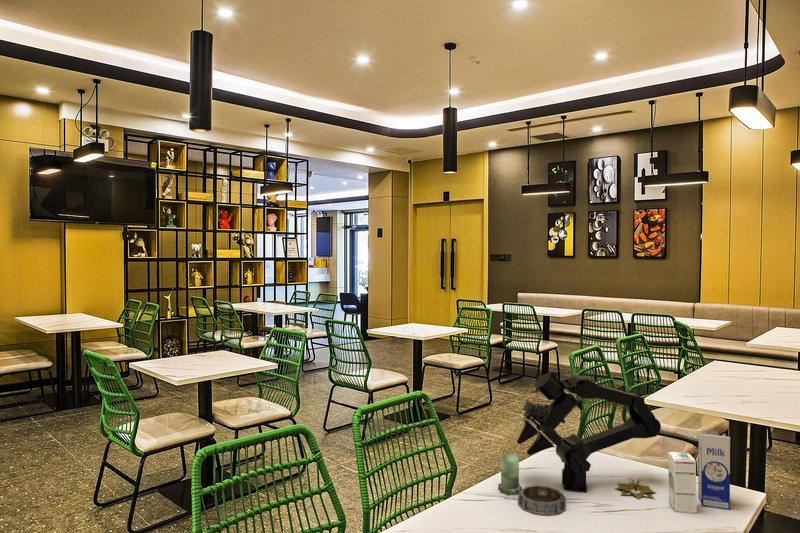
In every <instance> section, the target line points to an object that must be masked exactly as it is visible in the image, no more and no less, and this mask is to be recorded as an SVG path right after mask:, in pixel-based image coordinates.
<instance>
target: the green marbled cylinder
mask: <svg viewBox="0 0 800 533" xmlns="http://www.w3.org/2000/svg"><path fill="white" fill-rule="evenodd" d="M519 458H520V457H519V456H518V455H517V454H513V453H504V454H502V455H500V483H498V487H497V488H498V490H499V492H500V493H501V494H505V495H507V496H514V495H515V496H519V491H521V489H523V486H521V484H520V468H519V467H520V462H519V461H520V459H519Z"/></svg>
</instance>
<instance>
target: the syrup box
mask: <svg viewBox="0 0 800 533" xmlns="http://www.w3.org/2000/svg"><path fill="white" fill-rule="evenodd" d="M667 460H668V502H669V504H670V506H671V508H672V510H674V512H677V513H686V514H687V513H688V514H697V511H698V509H697V497H698V495H697V466H696V464H697V463H696V460H695V458H694V457H693V456H692V455H691V454H690V453H688V452H681V451H671V452H670V451H669V452H668V459H667Z"/></svg>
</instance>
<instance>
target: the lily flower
mask: <svg viewBox="0 0 800 533" xmlns="http://www.w3.org/2000/svg"><path fill="white" fill-rule="evenodd" d="M630 476H631V478H630V477H629V476H627V479H628V480H629V481H628V483H623V482H621V483H620V482H617V484H618V485H619V486H617V487H616V488H614V490H622V491H621V496H634V497H635V498H637V499H638V500H640V499H641V498H642V497H645V498H648V499H649V498H650V499H653V500H655V497H654V496H653V494H656V492H655V491H654V490H653V489H652V488H650V486H649V485H643V484H644V482H643V480H642V478H641V477H637V480H636V478H633V476H632V475H630ZM639 478H640V479H639ZM640 482H642V483H641V484H640ZM637 491H638V492H637ZM629 492H630V493H629ZM651 493H653V494H651ZM644 494H645V495H644Z"/></svg>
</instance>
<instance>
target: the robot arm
mask: <svg viewBox="0 0 800 533" xmlns="http://www.w3.org/2000/svg"><path fill="white" fill-rule="evenodd" d="M534 387H535V388H536V390H538V391H539V392H540V394H542V395H543V396H544V397H545V398H546V399H547V401H551V402H550V404H547V403H546V404H544V405H542V404H540V403H538V402H537V403H535V402H533V401H530V400H528V399H526V401H525V404H524V406H523V408H522V411H524V413H523V414H522V416H523V417H522V418H523V427H522V430H521V432H520V434H519V436H518V438H517V441H516V443H517V444H519V445H521V444H523V443H525V442H526V441H528V440H530V439H531V438H533V437H535V436H536V435H537V436H536V438H535V439H534V441H533V443H531V445H530V446H529V448H528V449H527V451H526V454H527V455H528V456H531V455H534V454H537V453H540V452H542V451H545V450H549V449H551V448H554V449H555V454H556V455H557V457H559V459H560V461H561V462H562V463H563V468H562V469H561V484H562V486H563V489H564V490H566V491H576V492H584V493H587V492H588V491H587V490H588V488H587V487H588V486H587V472H589V471H590V469H591V466H592V465H591V464H592V463H590V462H589V461H588V460H587V459H588V458H589V457H590V456H591V455H592V454H594V453H596V452H599V451H603V450H605V449H607V448H610V447H613V446H615V445H618V444H621V443H624V442H626V441H629V440H632V439H650V438H656V437H657V436H658V435H660V432H661V429H662V424H661V422H660V421H659V420H658V418H656V416H655V415H654V413H653V412H652V410H650V408H649V406H648V405H647V404H646V402H645V399H644V398H643V397H642V396H640V395H637V394H635V393H633V392H626V391H623V390H619V389H616V388H611V387H608V386H605V385H600V384H598V383H596V382H594V381H592V380H589V379H587V378H585V377H583V376H581V375H577V374H573V375H572V376H570V377H569V378H566V379H559V378H558V377H557V375H556V374H555V372H553V371H551V370H549V371H548V372H547V373H545V374H543V375H541V376H538V378H536V381H535V382H534ZM566 391H567V392H569V393H567V392H566ZM574 395H575V396H577V397H578V398H576V397H575V396H574ZM580 398H581V399H589V400H593V399H595V400H596V399H601V400H603V401H609V402H612V403H616V404H620V405H624V406H627V411H628V414H629V416H630V417H628V419H627V420H626V421H625V422H624V423H622V424H620V425H617V426H616V425H615V426H614V427H611V428H608V429H605V430H603V431H600V432H597V433H594V434H591V435H589V436H586V437H582V438H581V437H580V436H577V435H576V434H574V433H573V434H571V435H569V436H566V437H562V436H561V435H560V434H558V432H557V430H556V428H557V427H559V425H560V424H561V423H562V424H563V425H564V424H565V423H566V420H565V419H566V417H567V416H569V414H570V413H572V411H573V410H574V409H575V408H577V409H578V410H580V411H583V409H584V407H583V400H581V399H580Z"/></svg>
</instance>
